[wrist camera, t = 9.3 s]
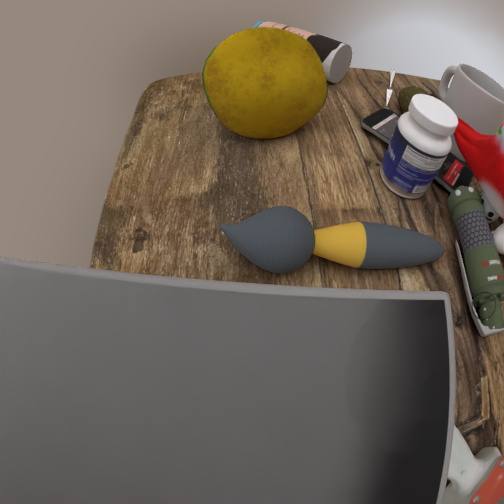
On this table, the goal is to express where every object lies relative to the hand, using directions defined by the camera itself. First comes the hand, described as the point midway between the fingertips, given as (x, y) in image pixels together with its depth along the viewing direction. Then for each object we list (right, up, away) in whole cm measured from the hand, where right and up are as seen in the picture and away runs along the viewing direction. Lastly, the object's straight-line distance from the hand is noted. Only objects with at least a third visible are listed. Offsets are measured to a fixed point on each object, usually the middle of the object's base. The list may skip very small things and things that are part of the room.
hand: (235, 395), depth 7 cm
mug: (+29, +21, +24) cm, 43 cm away
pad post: (0, -4, +5) cm, 7 cm away
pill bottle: (+17, +12, +20) cm, 29 cm away
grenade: (+22, +11, +17) cm, 30 cm away
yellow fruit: (+3, +19, +17) cm, 25 cm away
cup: (+2, +40, +32) cm, 51 cm away
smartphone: (+26, +12, +19) cm, 34 cm away
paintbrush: (+8, +4, +17) cm, 19 cm away
